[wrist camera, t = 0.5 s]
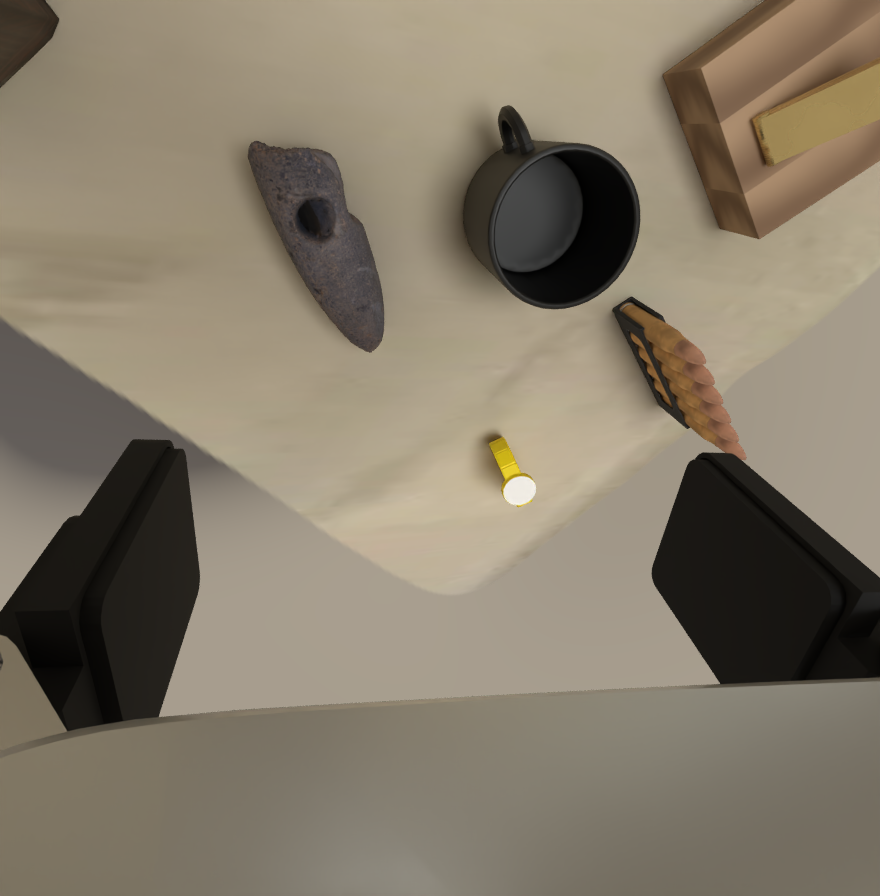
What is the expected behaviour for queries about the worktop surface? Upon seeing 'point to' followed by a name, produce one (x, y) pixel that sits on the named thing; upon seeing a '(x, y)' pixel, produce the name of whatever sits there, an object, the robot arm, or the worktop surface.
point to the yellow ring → (512, 475)
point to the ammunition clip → (677, 375)
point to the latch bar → (820, 114)
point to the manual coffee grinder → (23, 33)
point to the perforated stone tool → (322, 237)
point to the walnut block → (767, 86)
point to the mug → (551, 217)
